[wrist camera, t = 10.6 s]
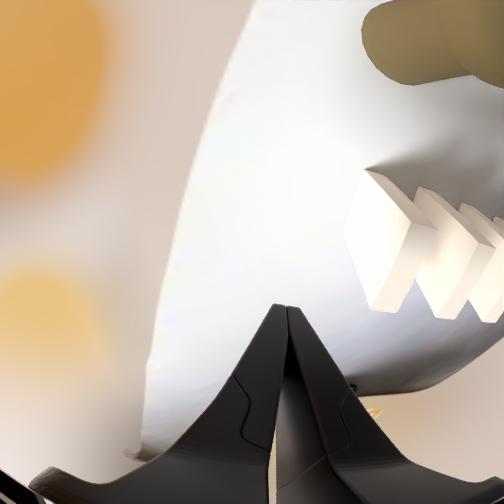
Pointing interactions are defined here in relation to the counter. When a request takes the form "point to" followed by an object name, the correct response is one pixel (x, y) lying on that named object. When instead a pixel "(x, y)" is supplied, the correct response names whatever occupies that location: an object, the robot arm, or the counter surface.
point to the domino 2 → (450, 256)
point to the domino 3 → (488, 268)
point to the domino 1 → (386, 240)
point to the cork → (436, 40)
